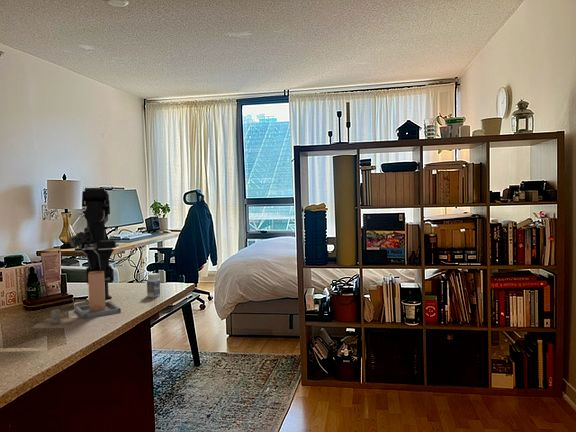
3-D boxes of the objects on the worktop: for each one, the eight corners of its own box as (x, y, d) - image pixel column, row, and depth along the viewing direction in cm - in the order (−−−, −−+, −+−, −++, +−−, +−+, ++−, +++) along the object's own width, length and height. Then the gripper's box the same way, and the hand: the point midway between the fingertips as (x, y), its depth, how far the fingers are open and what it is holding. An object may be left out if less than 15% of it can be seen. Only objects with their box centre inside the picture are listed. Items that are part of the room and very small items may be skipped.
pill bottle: (156, 297, 161) (155, 275, 161) (144, 297, 162) (144, 274, 162) (162, 294, 166) (161, 272, 165) (151, 294, 167) (150, 272, 166)
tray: (75, 312, 142) (75, 306, 142) (110, 306, 149) (110, 301, 149) (84, 321, 133) (83, 314, 132) (120, 314, 139) (120, 308, 139)
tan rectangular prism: (90, 310, 142) (88, 271, 141) (105, 308, 144) (104, 270, 143) (89, 315, 136) (87, 275, 135) (105, 313, 138) (103, 274, 137)
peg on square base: (48, 320, 134) (47, 306, 133) (80, 320, 134) (80, 305, 134) (29, 331, 124) (28, 315, 123) (64, 330, 124) (64, 315, 124)
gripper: (61, 225, 149) (63, 271, 148) (80, 223, 135) (81, 273, 135) (95, 225, 156) (96, 268, 156) (115, 222, 143) (117, 270, 142)
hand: (97, 269), depth 147 cm, fingers open, 9 cm apart
